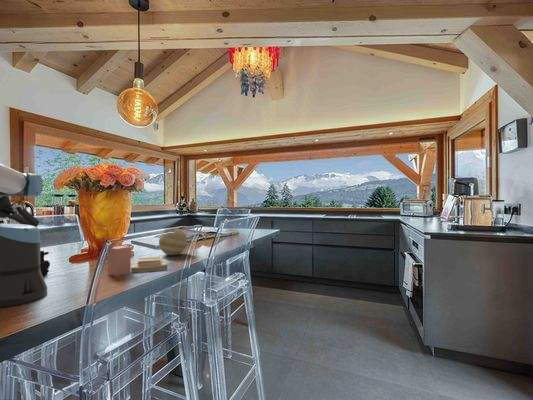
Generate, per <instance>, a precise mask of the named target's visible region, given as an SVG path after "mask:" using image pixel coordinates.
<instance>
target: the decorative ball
mask: <svg viewBox="0 0 533 400" xmlns="http://www.w3.org/2000/svg"><path fill="white" fill-rule="evenodd" d="M170 229H175V230H177V231H176V232H174V233H167V234H162V233H161V235H160V236H159V239H158V247H159V248H160V250H161V252H163V253H164V254H166V255H168V256H178V255H180V254H182V253H183V252H184V251H185V249H186V248H187V245H188V237H187V234H186V233H185V232H184V231H183V230H181V229H179V228H176V227H172V228H170Z"/></svg>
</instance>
